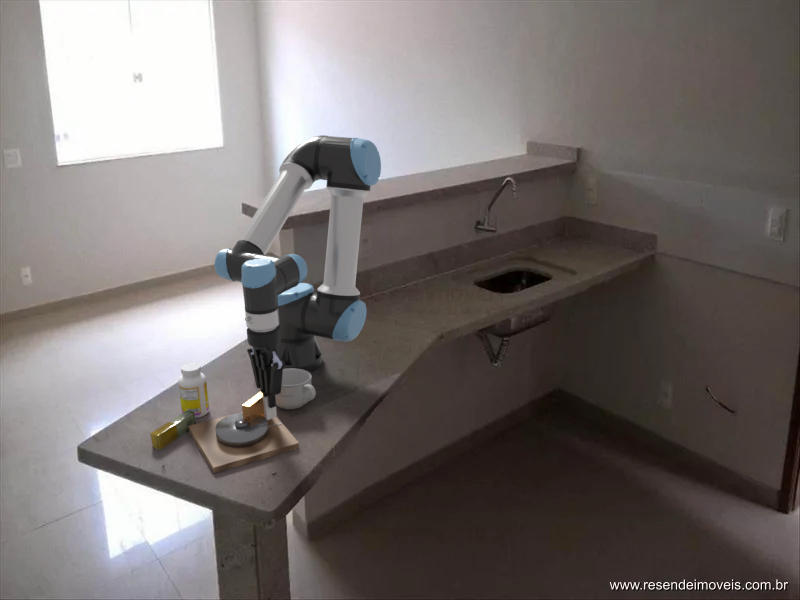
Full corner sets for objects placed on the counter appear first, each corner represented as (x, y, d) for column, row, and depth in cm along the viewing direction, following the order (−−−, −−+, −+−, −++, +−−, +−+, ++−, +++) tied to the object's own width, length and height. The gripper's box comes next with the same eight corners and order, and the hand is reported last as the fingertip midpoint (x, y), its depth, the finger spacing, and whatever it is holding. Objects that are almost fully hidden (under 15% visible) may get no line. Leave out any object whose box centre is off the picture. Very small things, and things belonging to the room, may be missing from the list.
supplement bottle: (198, 403, 188) (194, 358, 184) (214, 411, 184) (210, 365, 180) (176, 413, 183) (171, 367, 179) (192, 422, 180) (187, 375, 175)
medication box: (188, 424, 179) (186, 409, 178) (197, 426, 178) (195, 412, 177) (151, 447, 169) (149, 432, 168) (160, 450, 168) (158, 435, 167)
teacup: (262, 401, 189) (260, 374, 187) (298, 389, 196) (296, 362, 193) (291, 423, 180) (289, 394, 177) (327, 409, 186) (327, 381, 183)
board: (267, 410, 185) (267, 405, 185) (299, 448, 169) (298, 442, 169) (188, 431, 176) (187, 425, 175) (214, 473, 160) (213, 467, 159)
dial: (247, 407, 183) (245, 385, 181) (288, 418, 178) (287, 395, 176) (205, 439, 169) (202, 416, 167) (248, 452, 164) (246, 427, 162)
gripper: (234, 323, 170) (243, 413, 178) (263, 338, 161) (271, 432, 169) (262, 315, 175) (270, 403, 183) (292, 329, 166) (298, 421, 174)
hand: (270, 417), depth 176 cm, fingers closed
